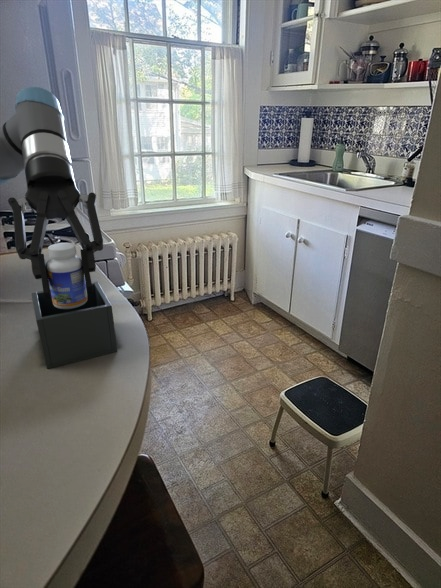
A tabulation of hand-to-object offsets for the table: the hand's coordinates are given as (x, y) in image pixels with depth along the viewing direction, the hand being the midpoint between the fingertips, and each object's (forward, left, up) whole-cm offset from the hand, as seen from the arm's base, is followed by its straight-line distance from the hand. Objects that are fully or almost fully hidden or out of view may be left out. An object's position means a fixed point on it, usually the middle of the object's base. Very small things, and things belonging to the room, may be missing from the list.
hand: (69, 292), depth 60 cm
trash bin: (-1, +3, -11) cm, 12 cm away
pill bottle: (-1, +3, -4) cm, 5 cm away
